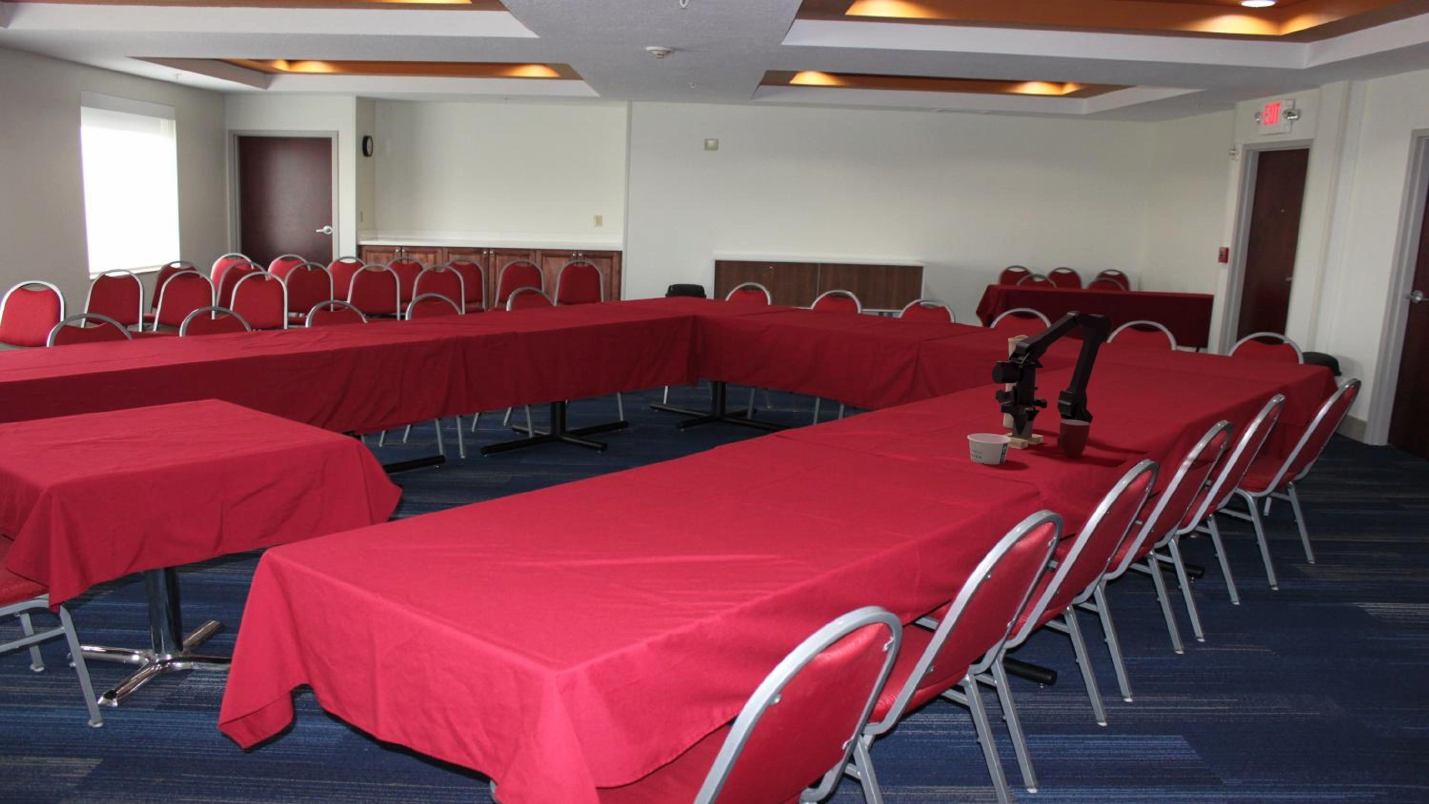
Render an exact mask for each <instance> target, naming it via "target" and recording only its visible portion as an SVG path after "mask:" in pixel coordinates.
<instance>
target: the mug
mask: <svg viewBox="0 0 1429 804" xmlns="http://www.w3.org/2000/svg"><path fill="white" fill-rule="evenodd" d="M1090 425H1091V423H1088V422H1085V421H1080V420H1066V419H1062V420H1060V423H1059V434H1058V436H1057V439H1056V445H1057V448H1059V449H1061V450H1062V452H1063V454H1064V456H1065V457H1066V456H1067V458H1071V457H1073V458H1074V459H1077V458H1080V457H1081V455H1082V454H1083V452H1084V451H1085V449H1086V447H1087V442H1088V441H1087V439H1089V435H1090V429H1091V428H1090ZM1073 458H1072V459H1073Z"/></svg>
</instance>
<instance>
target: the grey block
mask: <svg viewBox="0 0 1429 804" xmlns="http://www.w3.org/2000/svg"><path fill="white" fill-rule="evenodd" d="M1033 424H1034V421H1028V420H1027V421H1026V424H1025V426H1024V429H1023V431H1022V434H1021V435H1019V434H1017V430H1016V426H1015V422H1014V420H1013V427H1012V429H1011V433H1012V436H1014V437H1019V438H1025V439H1028V438H1032V434H1033V426H1034V425H1033Z"/></svg>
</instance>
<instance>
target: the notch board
mask: <svg viewBox="0 0 1429 804" xmlns="http://www.w3.org/2000/svg"><path fill="white" fill-rule="evenodd" d="M1002 436H1006V437H1008V438H1010V439H1011V442H1009V446H1008V448H1012V449H1017V450H1023V449H1027V448H1028V446H1029V445H1030V444H1032V445H1038V444H1041V443H1043V442H1044V441H1043V440H1044V435H1040V434H1033V433H1032V438H1028V439H1025V438H1019V437H1014V436H1012V432H1009V433H1005V434H1002ZM1028 444H1029V445H1028Z"/></svg>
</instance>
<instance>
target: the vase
mask: <svg viewBox="0 0 1429 804" xmlns="http://www.w3.org/2000/svg"><path fill="white" fill-rule="evenodd" d="M1028 337H1029V336H1027V335H1026V334H1021V335H1016V336H1015V337H1010V338H1008V339H1007V340H1008V355H1009V356H1010V355H1011V354H1012V352H1013V351H1014V349H1015V348H1016V344H1017V343H1018V342H1019V341H1021V340H1023V339H1025V338H1028ZM1009 356H1008V357H1009ZM1018 359H1020V358H1018ZM1021 360H1023V359H1021ZM1014 385H1016V383H1008V384H1005V392H1007V391H1011V390H1012V387H1013V386H1014ZM1009 402H1010V401H1009ZM1005 403H1007V402H1005ZM1013 420H1014V419H1013V417H1012V416H1011V415H1010V414H1007V413H1003V421H1002V423H1003V427H1004V428H1007V429H1010V430H1012V427H1013Z"/></svg>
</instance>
